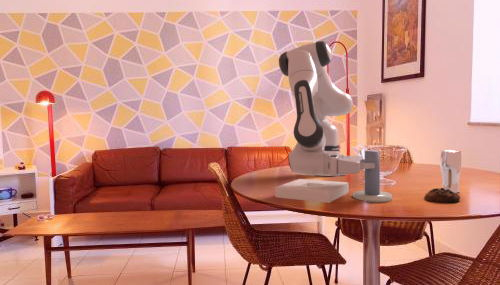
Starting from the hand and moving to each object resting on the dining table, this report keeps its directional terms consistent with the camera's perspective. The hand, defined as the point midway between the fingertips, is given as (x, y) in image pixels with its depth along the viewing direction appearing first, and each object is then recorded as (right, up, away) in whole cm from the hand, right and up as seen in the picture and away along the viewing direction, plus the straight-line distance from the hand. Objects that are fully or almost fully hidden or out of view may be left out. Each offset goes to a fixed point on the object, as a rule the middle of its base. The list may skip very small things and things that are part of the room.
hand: (374, 164), depth 139 cm
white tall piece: (+31, -11, +10) cm, 34 cm away
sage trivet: (-1, -12, +1) cm, 12 cm away
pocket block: (-20, -12, +8) cm, 25 cm away
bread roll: (+22, -12, -3) cm, 25 cm away
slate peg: (-1, -10, +1) cm, 11 cm away
